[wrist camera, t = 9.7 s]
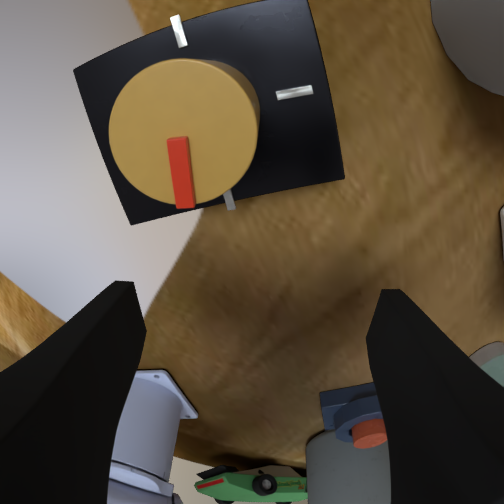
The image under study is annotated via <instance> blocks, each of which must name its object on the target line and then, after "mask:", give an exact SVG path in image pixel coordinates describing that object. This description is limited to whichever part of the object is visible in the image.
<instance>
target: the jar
mask: <svg viewBox="0 0 504 504" xmlns="http://www.w3.org/2000/svg"><path fill="white" fill-rule="evenodd" d="M500 218H501V228H502V241H503V260H504V206H503V208H502V209H501V211H500Z"/></svg>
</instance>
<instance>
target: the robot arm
mask: <svg viewBox="0 0 504 504" xmlns="http://www.w3.org/2000/svg"><path fill="white" fill-rule="evenodd" d="M146 332H147V330H146V327H145V323H144V320H143V316H142V312H141V309H140V305H139V301H138V298H137V293H136V289H135V286H134V282H129V281H115V282H113V283H112V284H111V285H109V286H108V287H107V288H105V289H104V290H103V291H102V292H101V293H100V294H99V295H97V296H96V297H95V298H94V299H93V300H92V301H90V302H89V303H88V304H87V305H86V306H85V307H84V308H82V309H81V311H79V312H78V313H77V314H76V315H74V316H73V317H72V318H71V319H70V320H69V321H68V322H67V323H65V324H64V325H63V326H62V327H61V328H59V329H58V330H57V331H56V332H54V333H53V334H52V335H51V336H50V337H48V338H47V339H46V340H45V341H44V342H42V343H41V344H40V345H39V346H37V347H36V348H35V349H34V350H32V351H31V352H30V353H28V354H27V355H25V356H24V357H23V358H21V359H20V360H18V361H17V362H16V363H14V364H13V365H11V366H10V367H8V368H6V369H5V370H3V371H1V372H0V504H183V502H182V501H181V499H180V497H179V495H178V494H176V493H173V488H174V485H173V484H171V483H168V482H169V477H170V471H171V465H172V460H173V454H174V449H175V444H176V438H177V433H178V428H179V423H180V419H195V418H197V417H198V413H197V412H196V411H195V409H194V408H193V407H192V405H191V404H190V403H189V401H188V400H187V399H186V397H185V396H184V395H183V393H182V392H181V391H180V389H179V388H178V386H177V385H176V384H175V382H174V381H173V379H172V378H171V377H170V375H169V374H168V373H167V372H166V371H165V370H144V371H137V368H138V365H139V362H140V359H141V355H142V351H143V346H144V341H145V337H146ZM366 343H367V351H368V358H369V365H370V370H371V374H372V377H373V381H374V385H375V389H376V393H377V397H378V401H379V404H380V408H381V412H382V416H383V421H384V425H385V429H386V435H387V440H388V450H389V461H390V478H391V504H504V387H503V386H502V385H501V384H499V383H498V382H497V381H496V380H494V379H493V378H492V377H491V376H490V375H488V374H487V373H486V372H485V371H484V370H482V369H481V368H480V367H479V366H478V365H477V364H476V363H474V362H473V361H472V360H471V359H470V358H469V357H468V356H467V355H466V354H465V353H464V352H463V351H462V350H461V349H460V348H458V347H457V346H456V345H455V344H454V343H453V342H452V341H451V340H450V339H449V338H448V337H447V336H446V335H445V334H444V333H443V332H442V331H441V330H440V329H439V327H438V326H437V325H436V324H435V323H434V322H433V321H432V320H431V319H430V318H429V317H428V316H427V315H426V314H425V313H424V312H423V311H422V310H421V309H420V308H419V307H418V306H417V305H416V304H415V303H414V302H413V301H412V300H411V299H410V298H409V297H408V296H407V295H406V294H405V293H404V292H403V291H402V290H400V289H382V290H381V293H380V297H379V300H378V303H377V306H376V309H375V312H374V315H373V318H372V321H371V324H370V327H369V330H368V333H367V336H366Z"/></svg>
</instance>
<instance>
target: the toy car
mask: <svg viewBox="0 0 504 504" xmlns="http://www.w3.org/2000/svg"><path fill="white" fill-rule="evenodd" d="M197 475H198V476H199V477H201V478H202V479H203V480H202V481H198V482H196V483H195V485H194V486H195V488H196V490H197V491H198V492H200V493H202V494H205V495H208V496H210V497H213V498H214V499H215V501H216V502H217V503H219V504H232V503H233V502H234V501H242V502H244V501H245V502H276V504H290V503H291V502H295V501H301V500H305V499H308V493H307V477H301V476H300V475H299V474H298V473H296V472H295V471H294V470H293V469H292V468H291V467H289V466H274V465H270V466H265V467H260V468H256V469H251V470H245V471H239V470H238V469H237V468H236V467H232V466H226V465H220V466H217V467H215V468H212V469H209V470H207V471H204V472H201V473H198V474H197Z"/></svg>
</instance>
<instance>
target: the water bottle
mask: <svg viewBox="0 0 504 504" xmlns="http://www.w3.org/2000/svg"><path fill="white" fill-rule="evenodd" d="M306 467H307V493H308V504H391V478H390V461H389V450H388V440H387V441H385V442H384V443H382V444H380V445H378V446H375V447H371V448H364V449H360V448H356V447H354V446H353V443H349V442H343V441H341V440H339V439H336V436H335V429H331V430H328V431H326V432H323V433H321V434H319V435H318V436H316V437H315V438H313V439H312V440H311V441H310V442H309V443H308V445H307V448H306Z"/></svg>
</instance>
